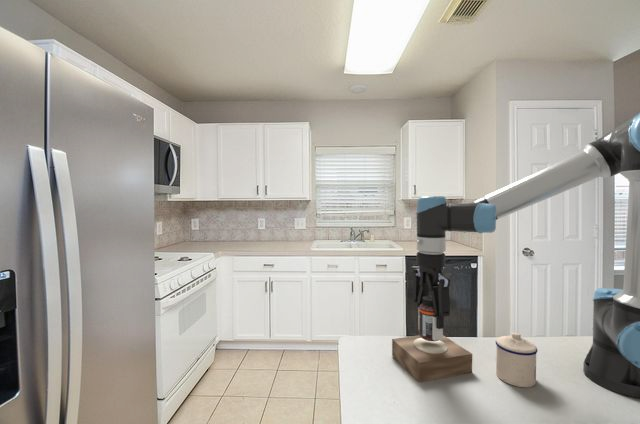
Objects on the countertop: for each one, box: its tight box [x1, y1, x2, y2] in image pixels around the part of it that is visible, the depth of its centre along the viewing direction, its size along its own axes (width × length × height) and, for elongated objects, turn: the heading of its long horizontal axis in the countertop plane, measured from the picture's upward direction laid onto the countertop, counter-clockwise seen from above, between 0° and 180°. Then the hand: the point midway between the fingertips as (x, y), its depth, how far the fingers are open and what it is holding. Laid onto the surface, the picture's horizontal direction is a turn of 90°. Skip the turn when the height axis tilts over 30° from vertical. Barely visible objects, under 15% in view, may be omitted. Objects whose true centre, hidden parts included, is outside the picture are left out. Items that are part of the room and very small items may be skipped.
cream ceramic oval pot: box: [495, 332, 538, 388], centre depth 82 cm, size 12×9×12 cm
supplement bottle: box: [418, 295, 439, 341], centre depth 88 cm, size 6×6×11 cm
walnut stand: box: [391, 334, 473, 383], centre depth 88 cm, size 14×16×5 cm
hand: (430, 334), depth 88 cm, fingers closed on supplement bottle, 6 cm apart
